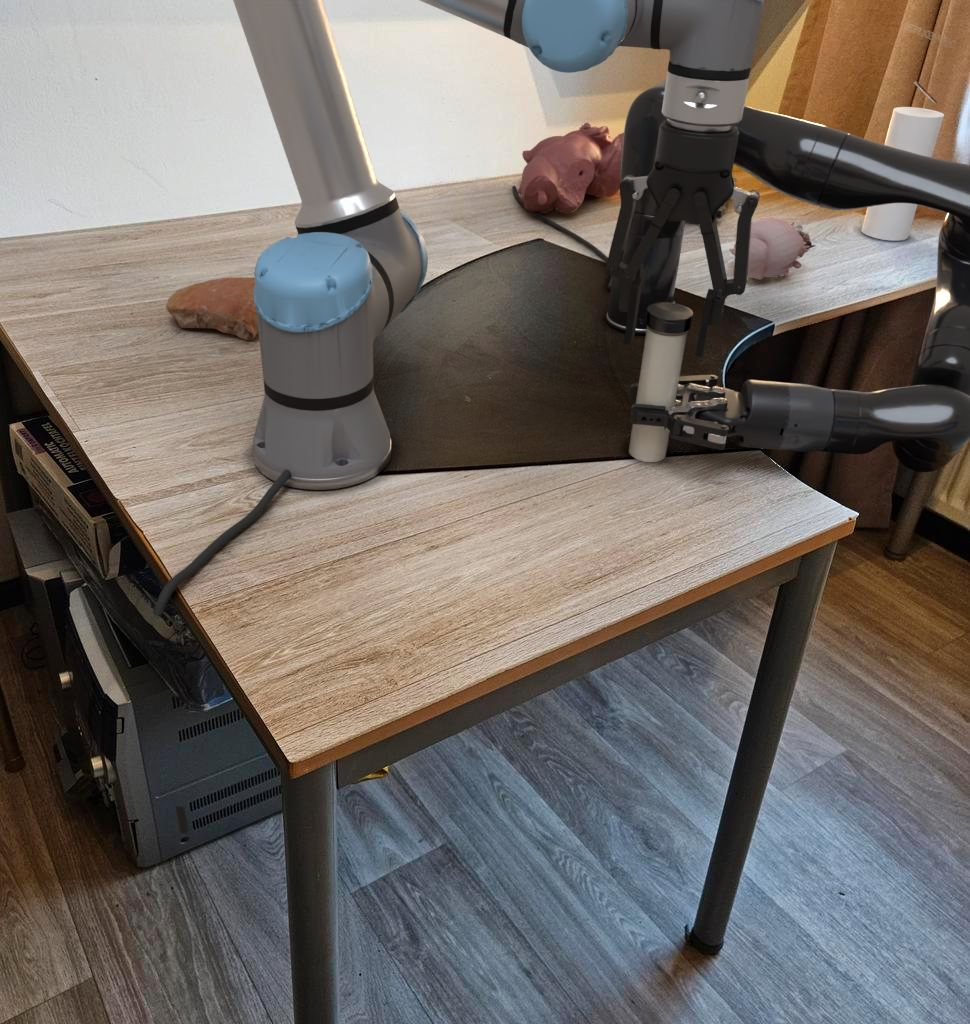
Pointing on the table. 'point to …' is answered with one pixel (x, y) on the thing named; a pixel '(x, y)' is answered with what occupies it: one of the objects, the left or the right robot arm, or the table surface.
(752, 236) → the toy
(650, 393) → the beige cylinder
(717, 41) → the left robot arm
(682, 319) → the lid
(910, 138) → the tall white tube
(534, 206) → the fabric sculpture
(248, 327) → the ceramic shard
